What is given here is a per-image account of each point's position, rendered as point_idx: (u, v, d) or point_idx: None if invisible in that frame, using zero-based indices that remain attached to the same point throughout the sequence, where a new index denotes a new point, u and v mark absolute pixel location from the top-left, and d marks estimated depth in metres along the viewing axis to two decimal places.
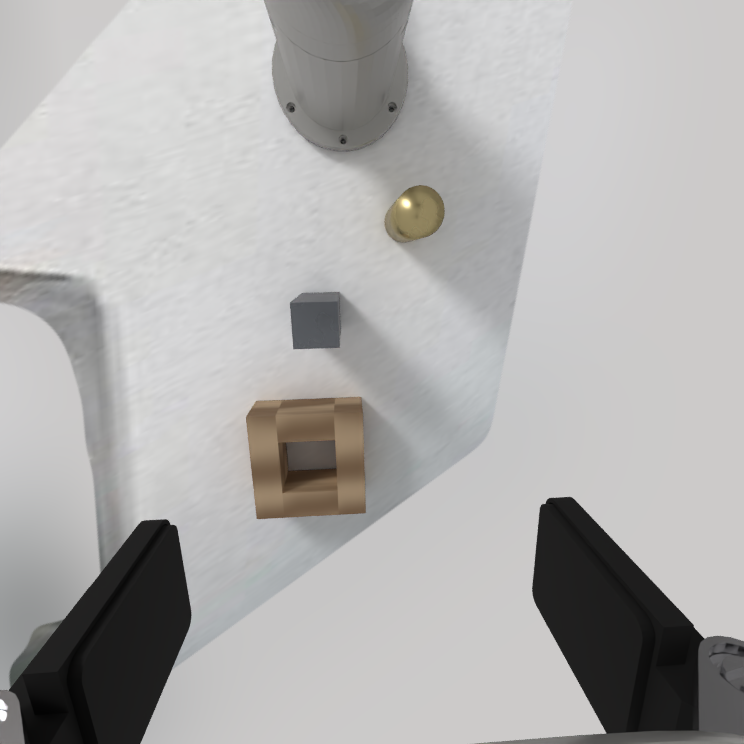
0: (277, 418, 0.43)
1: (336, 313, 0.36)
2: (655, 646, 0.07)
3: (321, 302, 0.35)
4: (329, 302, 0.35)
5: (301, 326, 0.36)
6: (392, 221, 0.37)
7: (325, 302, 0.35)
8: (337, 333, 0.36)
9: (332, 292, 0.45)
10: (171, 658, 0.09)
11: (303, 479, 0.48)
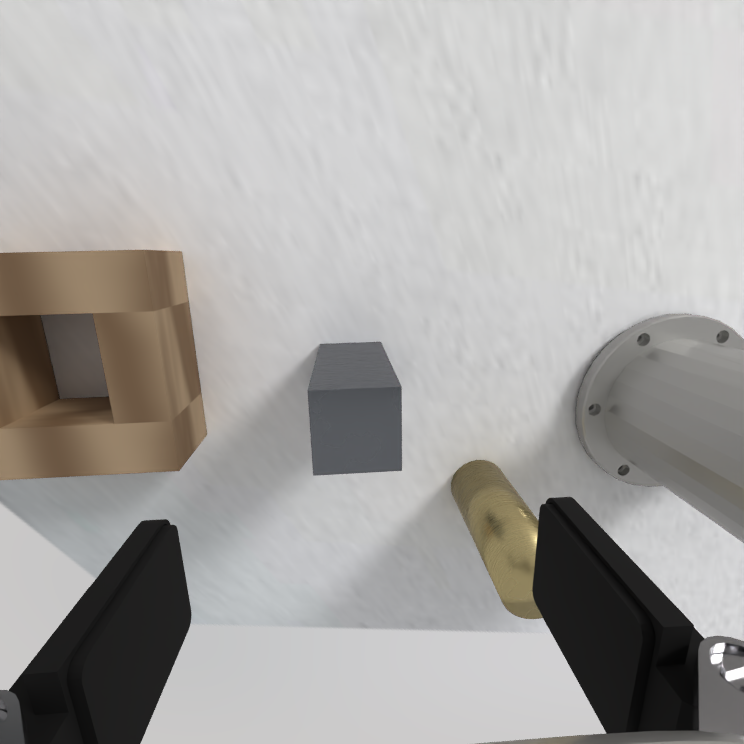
0: (148, 315, 0.21)
1: (379, 469, 0.19)
2: (655, 646, 0.07)
3: (399, 442, 0.19)
4: (399, 456, 0.19)
5: (355, 407, 0.18)
6: (510, 519, 0.23)
7: (399, 449, 0.19)
8: (341, 471, 0.19)
9: None
10: (171, 658, 0.09)
11: (19, 344, 0.24)
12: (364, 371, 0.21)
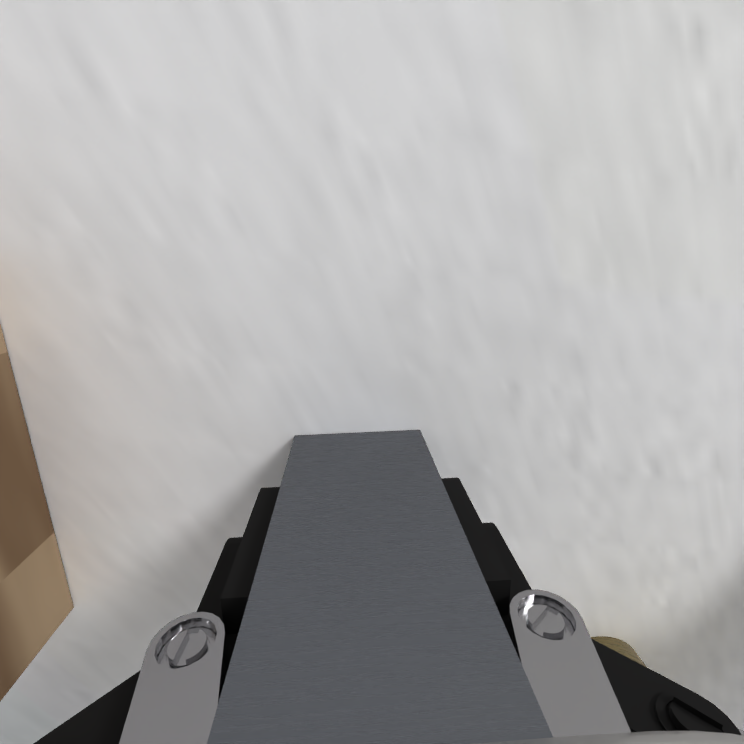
0: None
1: None
2: None
3: None
4: None
5: None
6: None
7: None
8: None
9: None
10: None
11: None
12: (405, 619, 0.06)
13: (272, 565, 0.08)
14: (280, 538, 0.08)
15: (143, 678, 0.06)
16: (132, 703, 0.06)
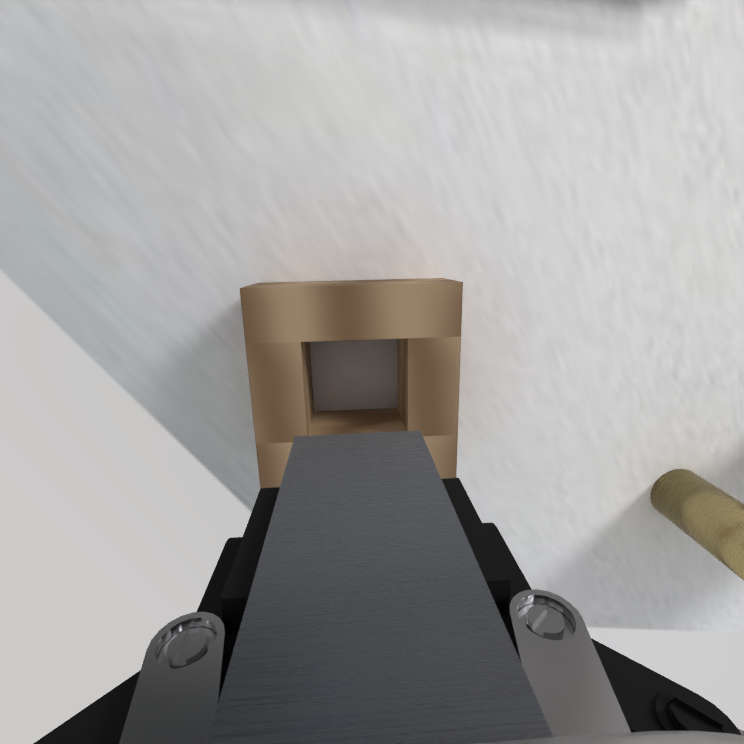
0: (455, 339, 0.24)
1: None
2: None
3: None
4: None
5: None
6: None
7: None
8: None
9: None
10: None
11: (307, 364, 0.26)
12: (406, 623, 0.06)
13: (271, 567, 0.08)
14: (279, 540, 0.08)
15: (143, 678, 0.06)
16: (132, 703, 0.06)
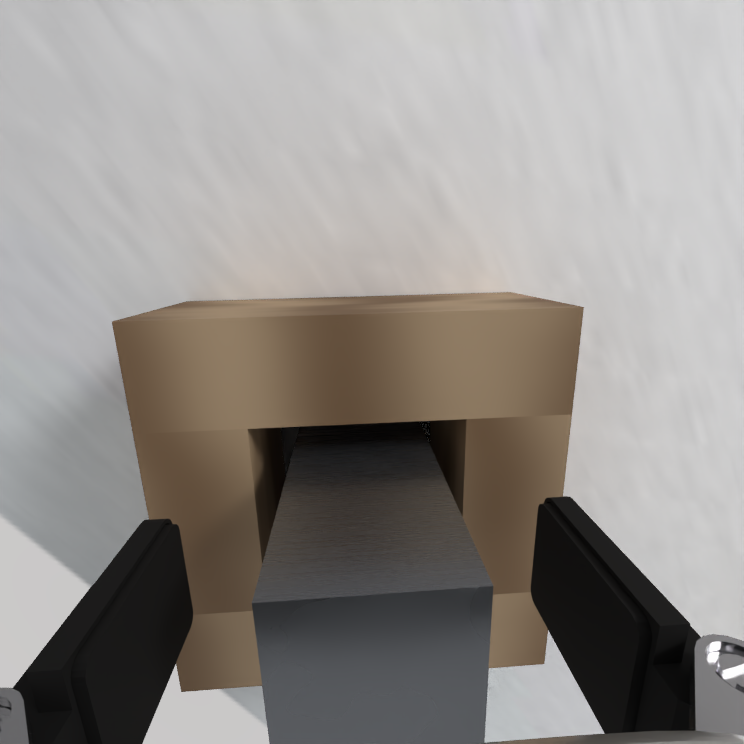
0: (560, 420, 0.12)
1: None
2: (651, 644, 0.07)
3: None
4: (480, 730, 0.08)
5: (374, 634, 0.07)
6: None
7: (481, 715, 0.08)
8: None
9: None
10: (173, 657, 0.09)
11: (271, 450, 0.14)
12: (388, 498, 0.10)
13: (297, 473, 0.11)
14: (301, 460, 0.12)
15: None
16: None
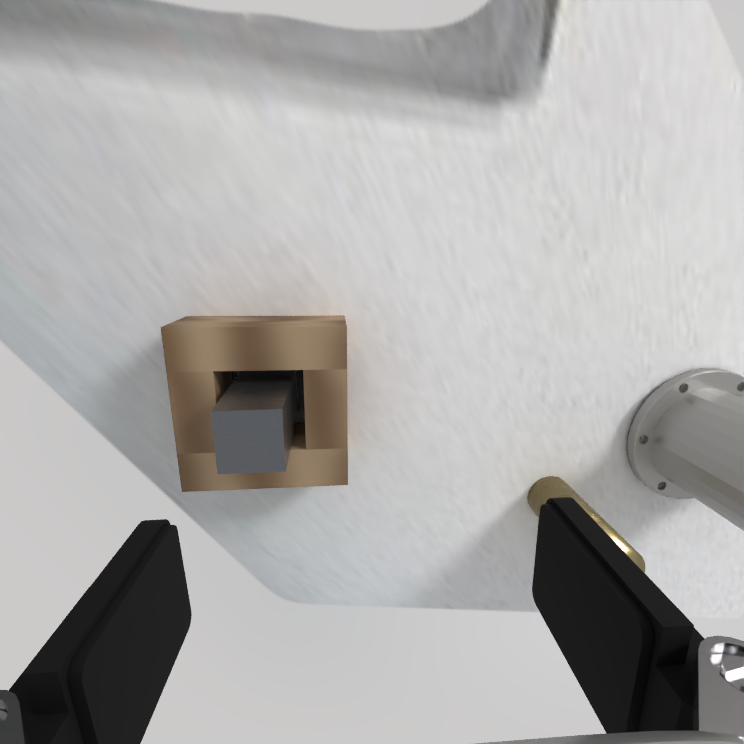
0: (342, 371, 0.29)
1: (268, 470, 0.25)
2: (655, 646, 0.07)
3: (283, 450, 0.25)
4: (283, 461, 0.25)
5: (247, 423, 0.24)
6: None
7: (283, 455, 0.25)
8: (238, 471, 0.25)
9: (297, 404, 0.34)
10: (171, 658, 0.09)
11: (225, 386, 0.31)
12: (263, 394, 0.27)
13: (232, 388, 0.28)
14: (235, 385, 0.28)
15: None
16: None
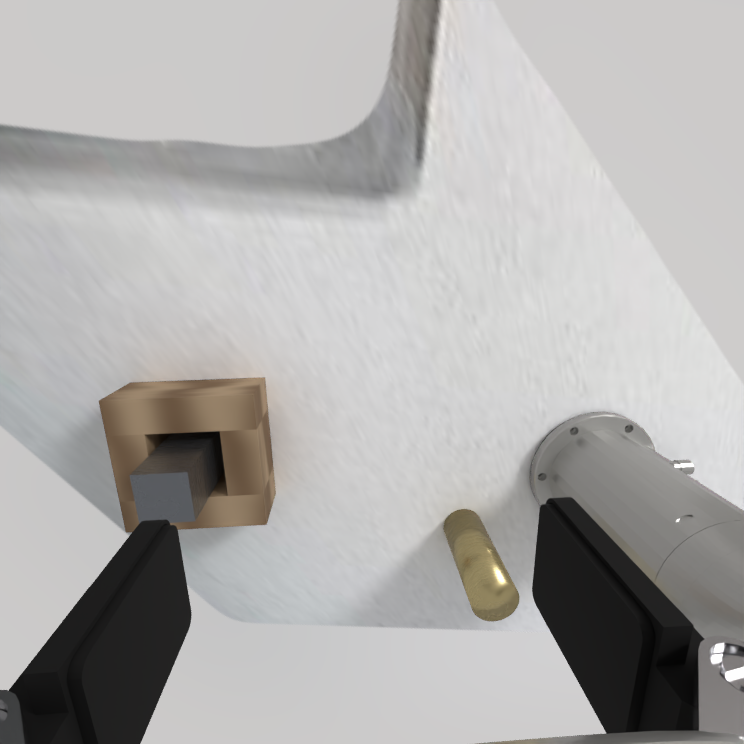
0: (253, 431, 0.34)
1: (180, 520, 0.30)
2: (655, 646, 0.07)
3: (192, 504, 0.30)
4: (193, 513, 0.30)
5: (160, 484, 0.30)
6: (479, 557, 0.36)
7: (192, 508, 0.30)
8: None
9: None
10: (171, 658, 0.09)
11: None
12: (181, 455, 0.32)
13: (158, 449, 0.33)
14: (163, 444, 0.34)
15: None
16: None
